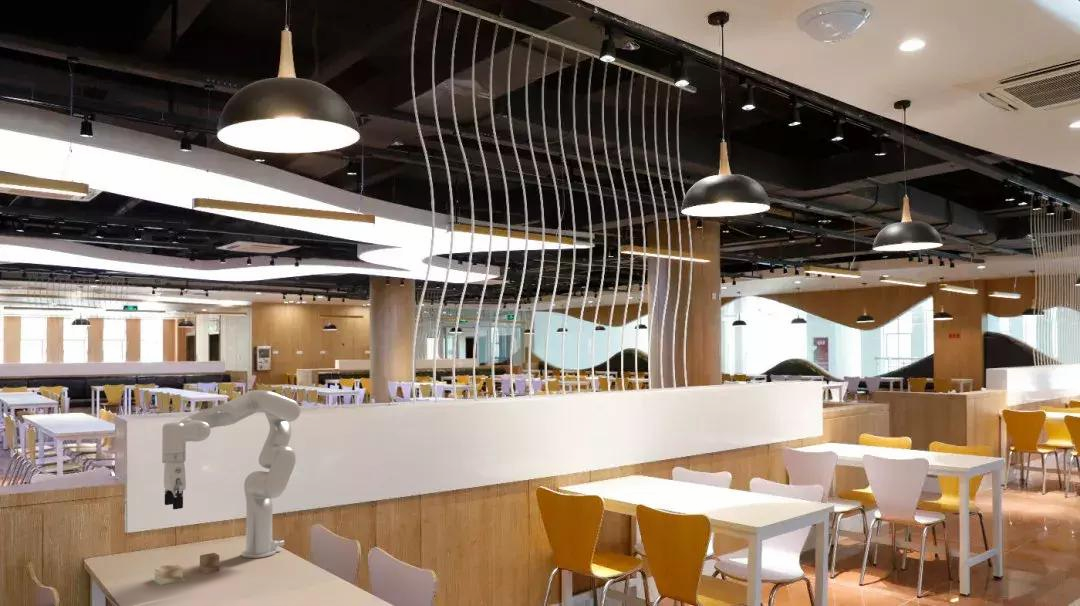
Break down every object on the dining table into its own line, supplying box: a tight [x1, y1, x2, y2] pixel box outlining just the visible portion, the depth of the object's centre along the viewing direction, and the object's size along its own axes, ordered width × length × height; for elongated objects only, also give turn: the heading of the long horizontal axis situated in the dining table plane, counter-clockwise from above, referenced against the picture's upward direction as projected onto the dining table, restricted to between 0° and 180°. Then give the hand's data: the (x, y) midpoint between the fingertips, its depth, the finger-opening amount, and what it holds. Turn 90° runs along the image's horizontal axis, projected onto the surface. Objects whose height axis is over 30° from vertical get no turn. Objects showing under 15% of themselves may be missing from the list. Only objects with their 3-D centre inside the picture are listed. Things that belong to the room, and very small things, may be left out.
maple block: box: [154, 563, 184, 585], centre depth 266 cm, size 7×7×4 cm
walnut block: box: [199, 552, 220, 574], centre depth 276 cm, size 5×5×6 cm
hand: (173, 506), depth 274 cm, fingers open, 9 cm apart
